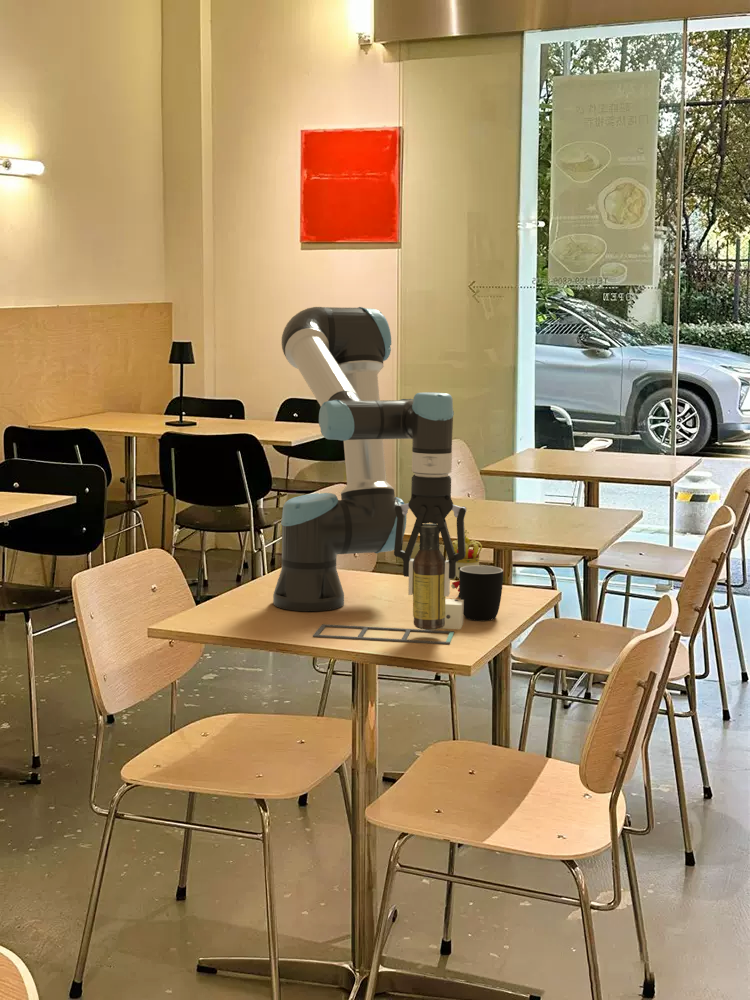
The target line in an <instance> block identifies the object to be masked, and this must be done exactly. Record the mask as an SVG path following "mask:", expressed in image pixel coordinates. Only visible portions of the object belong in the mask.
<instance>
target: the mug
mask: <svg viewBox="0 0 750 1000" xmlns="http://www.w3.org/2000/svg"><path fill="white" fill-rule="evenodd" d="M458 579H459V580H458V581H459V586H458V589H459V590H460V597H459V598H460V600H464V610H463V617H464V618H465V619H467V620H468V621H469V620H470V621H475V622H488V621H489V622H490V621H493V620H495V619H496V617H497V616H498V613H499V611H500V605H501V600H502V592H503V585H504V584H503V583H504V570H503V568H501V567H498V566H492V565H480V564H479V565H472V566H464V567H461V568H460V571H459V578H458Z"/></svg>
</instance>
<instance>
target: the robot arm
mask: <svg viewBox="0 0 750 1000" xmlns="http://www.w3.org/2000/svg"><path fill="white" fill-rule="evenodd" d="M391 333H392V332H391V329H390V326H389V323H388V320H387V318H386V316H385V315H384V314H383V313H382V312H381V311H380V310H378V309H376V308H370V307H369V308H367V307H363V306H359V307H334V306H333V307H331V306H330V307H329V306H327V307H326V306H313V307H307V308H305V309H302V310H300V311H299V312H298V313H296V314H295V315H294V316H292V317H291V318H290V320H288V322H287V323H286V325H285V327H284V329H283V332H282V334H281V335H282V336H281V349H282V352H283V356H284V357H285V358H286V360H287V362H288V363H289V364H290V365H291V366H292V367H293V368H295V369H298V371H299V373H300V375H301V376H302V377H303V379H304V381H305V383H306V384H307V386H308V387H309V389H310V390H311V393H312V395H314V397H315V399H316V401H317V403H318V404H319V407H320V409H319V413H318V425H319V427H320V433H321V435H322V436H323V438H325V439H327V440H336V441H337V440H338V441H341V442H343V450H344V460H345V463H344V464H345V474H346V485H345V488H344V489H342V490H341V492H340V497H341V498H340V500H339V499H338V496H337V495H336V494H335V493H330V492H323V493H318V492H317V493H308V494H302V495H299V496H295V497H291V498H289V499H288V500H286V501H285V502H284V504H283V507H282V514H281V521H280V524H281V569H280V572H279V575H278V578H277V582H276V585H275V587H274V591H273V600H272V602H273V604H272V605H274V607H276V608H280V609H283V610H287V611H288V610H289V611H295V612H297V611H298V612H322V611H323V612H324V611H332V610H335V609H339V608H341V607H343V606H344V605H345V593H344V590H343V589H344V588H343V586H342V582H341V579H340V577H339V572H338V570H337V557H338V555H351V554H368V553H369V554H371V553H374V554H379V553H386V552H392V551H393V556H395V557H397V558H400V559H402V561H403V562H402V563H403V564H402V565H403V568H402V570H403V571H402V574H403V577H405V578H407V577H408V590H407V593H408V595H409V596H413V566H414V558H412V557H411V556H412V555H413V551H414V549H415V546H416V543H417V541H418V536H420V533H419V528H420V526H421V525H422V524H438V527H439V529H440V536H441V539H442V542H443V545H444V548H445V551H446V555H447V558H448V559H447V560H446V559H445V582H444V596H445V598H447V597H449V596H450V592H451V591H450V588H451V587H450V583H451V582H450V581H451V580H452V579H455V577H456V576H455V575H456V561H458V560H462V559H464V557H465V555H466V550H465V535H466V533H465V530H466V529H465V517H466V513H467V510H468V509H467V507H466V506H459V505H456V504H454V502H453V499H452V477H451V475H449V474H451V473H452V470H453V469H452V464H453V452H452V451H453V430H454V429H453V427H454V426H453V425H454V414H455V413H454V407H453V406H454V403H453V396H452V395H451V394H450V393H446V392H432V391H431V392H430V391H425V392H416V393H415V394H414V396H413V398H402V399H397V400H383V399H382V400H380V390H379V389H380V388H379V380H378V379H379V376H378V374H379V373H380V372H381V371H382V370H383V368H384V367H385V366H384V362H385V361H387V360H388V359H389V357H390V355H391V351H392V349H391V346H392V334H391ZM384 440H412V441H411V442H412V443H411V444H412V445H411V446H412V447H411V451H412V452H411V454H412V455H411V472H412V473H413V475H412V476H411V494H410V495H411V497H410V499H409V501H408V503H407V502H406V503H405V501H404V500H403V499H402V498H400V497H398V496H396V495H395V488H394V487H393V486H392V485H391V484H390V483H389V482H388V481H387V473H386V461H385V460H386V459H385V448H384V446H385V445H384ZM408 510H410V511H411V512H412V514H413V515H414V517H415V522H414V525H413V528H412V531H411V534H410V537H409V539H408V542H407V545H406V548H405V550H403V545H404V536H405V532H406V528H407V515H408ZM451 511H453V515H454V517H455V518H456V535H457V536H456V538H457V539H456V540H457V541H458V547H457V549H458V553H456V554H455V551H454V548H453V544H452V542H453V541H452V539H451V535H450V532H449V528H448V524H447V520H446V518H447V517H448V515H449V514H450V512H451Z"/></svg>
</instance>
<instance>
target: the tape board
mask: <svg viewBox="0 0 750 1000" xmlns="http://www.w3.org/2000/svg"><path fill="white" fill-rule="evenodd" d="M325 628H340V629H358V630H359V629H360V630H361V631H360V632H359V634H357V636H350V635H331V634H329V635H328V634H321V633H322V632H323V631H324V630H325ZM368 630H377V631H378V630H379V631H380V630H381V631H396V632H397V631H399V632H404V634H403V636H402V637H401V638H388V637H387V638H386V637H367V636H365V637H364V635H365V634H366V632H367V631H368ZM412 632H417V633H418V632H419V633H431V634H432V633H436V634H448V636H447V638H446V640H445V641H439V640H423V639H421V640H420V639H408V637H409V635H410V633H412ZM454 634H455V631H453V630H440V629H436V630H425V629H419V628H402V627H401V628H400V627H398V628H397V627H382V626H366V625H365V626H360V625H345V624H342V625H341V624H325V623H323V624H321V625H320V626H319V628H318V629H317V630H316V631H315V632H314V633H313V635H312V638H322V639H323V638H325V639H326V638H327V639H345V640H360V641H361V640H362V641H363V640H364V641H379V642H380V641H381V642H383V641H384V642H398V643H417V644H432V645H433V644H436V645H451V642H452V639H453V636H454Z"/></svg>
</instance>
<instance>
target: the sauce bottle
mask: <svg viewBox="0 0 750 1000" xmlns="http://www.w3.org/2000/svg"><path fill="white" fill-rule="evenodd" d="M440 534H441V532H440V529H439V527H438V524H433V523H426V524H424V523H423V524H422V525H421V526H420V528H419V546H418V547H419V550H418V551H417V552H416V554H415V557H414V558H413V559H414V566H413V594H412V617H413V625H414V627H415V628H416V629H422V630H440V629H443V628H442V627H444V625H445V599H446V596H444V582H445V562H446V559H445V556H444V555H443V554H442V551H441V550H440Z"/></svg>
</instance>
